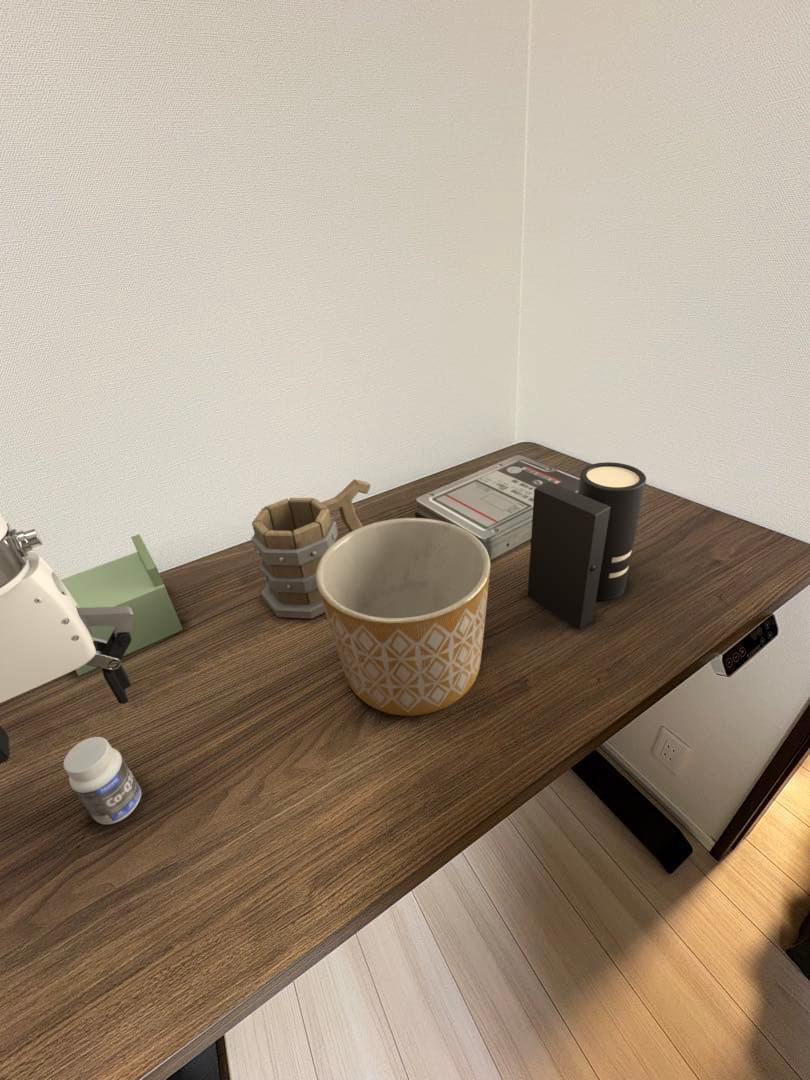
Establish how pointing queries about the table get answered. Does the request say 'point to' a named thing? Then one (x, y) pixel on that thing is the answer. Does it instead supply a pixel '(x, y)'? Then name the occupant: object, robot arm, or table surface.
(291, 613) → the tankard
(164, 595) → the green block with fin
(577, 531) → the light fixture
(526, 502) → the hard drive
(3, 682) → the robot arm
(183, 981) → the table surface
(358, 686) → the planter
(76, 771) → the pill bottle
